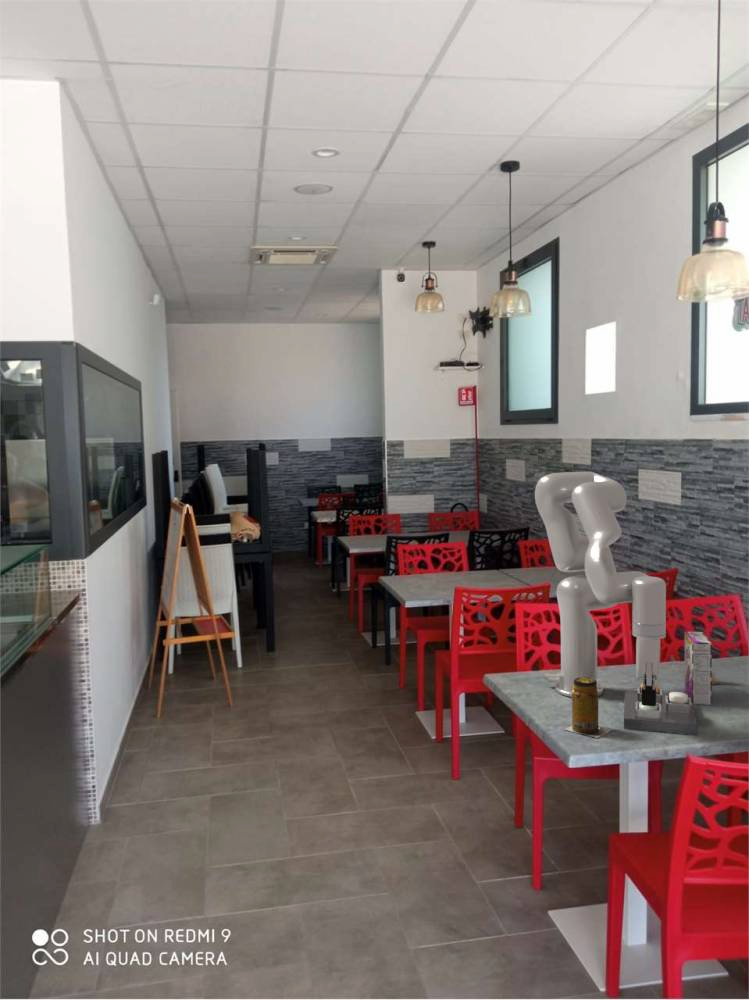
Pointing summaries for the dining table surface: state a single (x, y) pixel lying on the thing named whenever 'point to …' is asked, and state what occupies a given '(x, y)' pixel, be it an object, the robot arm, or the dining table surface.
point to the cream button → (678, 698)
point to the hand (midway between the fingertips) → (648, 704)
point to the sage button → (648, 707)
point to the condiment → (585, 708)
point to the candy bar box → (698, 668)
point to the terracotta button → (655, 687)
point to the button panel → (659, 714)
